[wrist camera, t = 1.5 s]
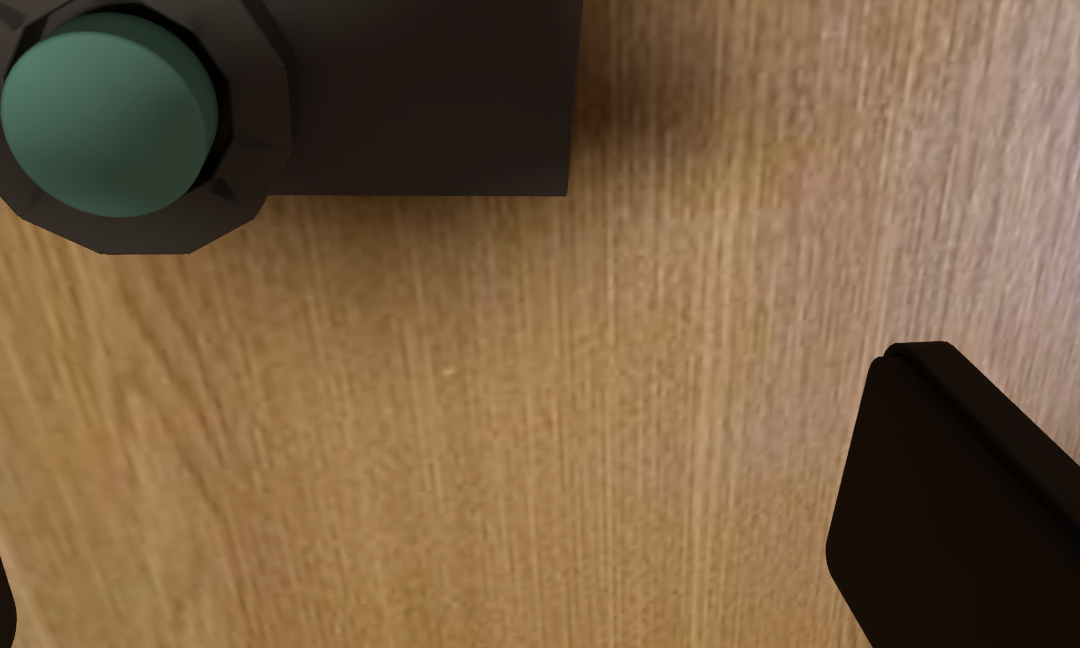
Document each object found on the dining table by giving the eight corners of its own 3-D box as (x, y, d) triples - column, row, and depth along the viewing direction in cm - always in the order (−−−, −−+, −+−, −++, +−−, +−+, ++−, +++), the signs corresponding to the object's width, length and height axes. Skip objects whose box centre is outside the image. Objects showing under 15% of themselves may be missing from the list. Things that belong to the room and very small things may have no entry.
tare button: (12, 7, 18) (-22, 28, 16) (209, 14, 18) (194, 35, 17) (48, 186, 20) (20, 219, 18) (227, 187, 20) (215, 219, 19)
